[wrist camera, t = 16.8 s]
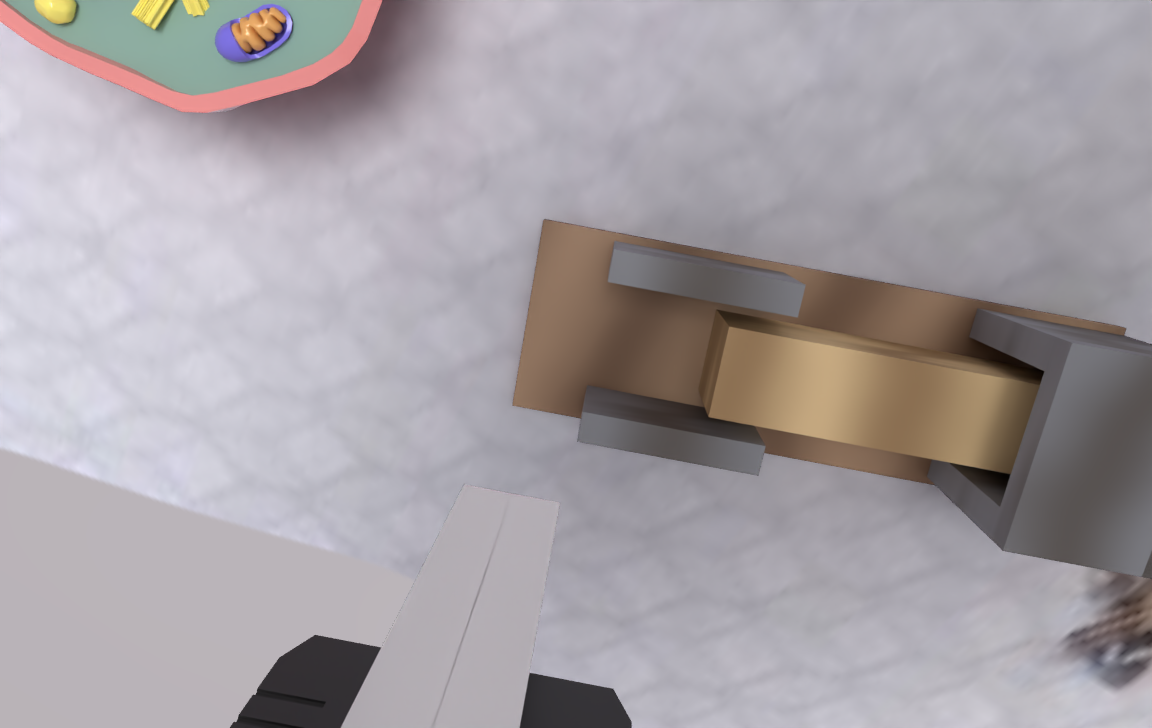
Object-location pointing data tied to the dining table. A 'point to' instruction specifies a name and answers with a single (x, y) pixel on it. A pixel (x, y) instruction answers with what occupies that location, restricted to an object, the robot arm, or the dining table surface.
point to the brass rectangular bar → (867, 391)
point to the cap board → (858, 307)
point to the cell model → (198, 44)
